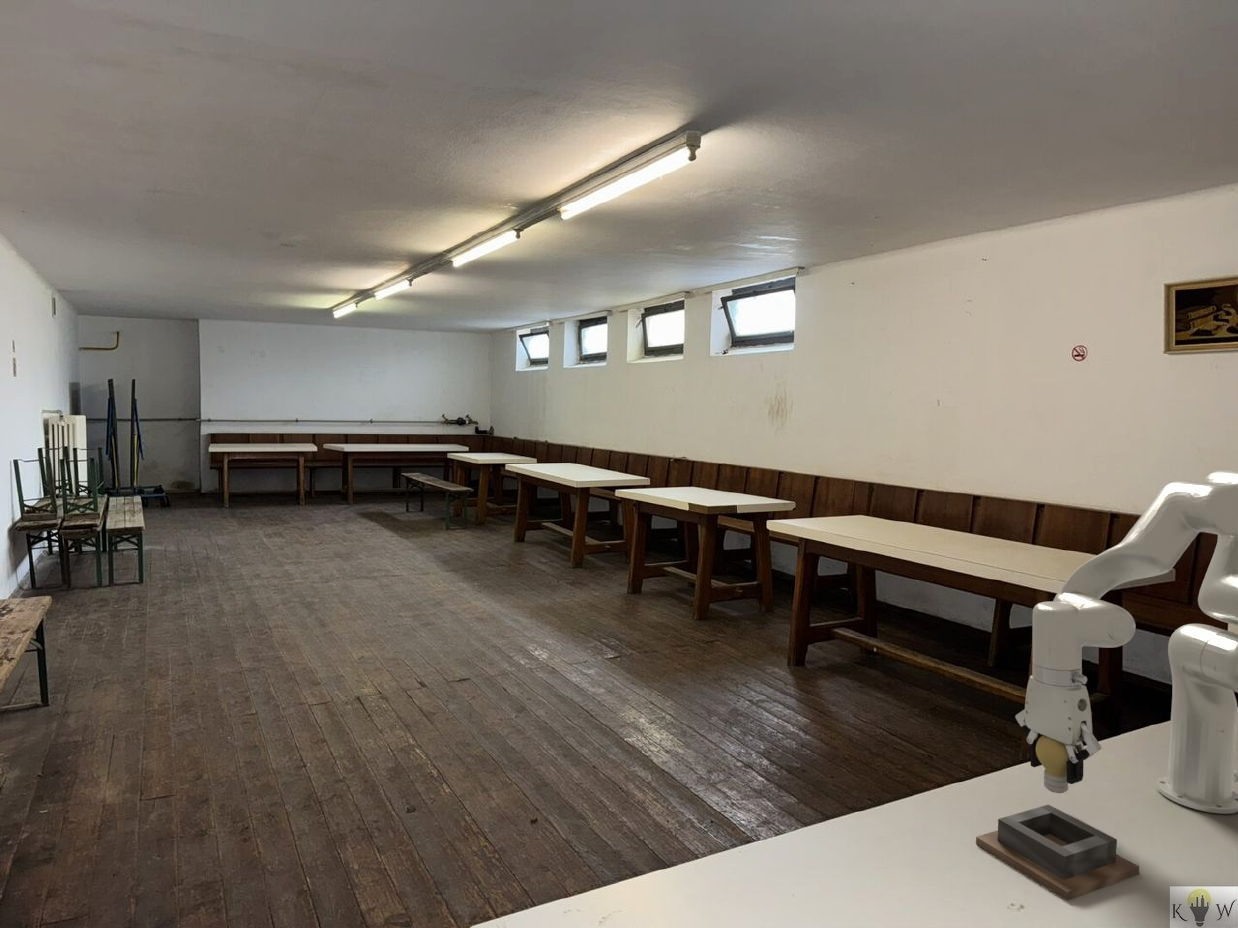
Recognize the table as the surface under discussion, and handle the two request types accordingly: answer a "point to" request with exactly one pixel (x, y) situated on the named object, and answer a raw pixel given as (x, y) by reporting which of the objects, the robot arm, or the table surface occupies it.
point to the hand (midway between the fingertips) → (1055, 772)
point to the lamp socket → (1058, 851)
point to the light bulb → (1053, 763)
